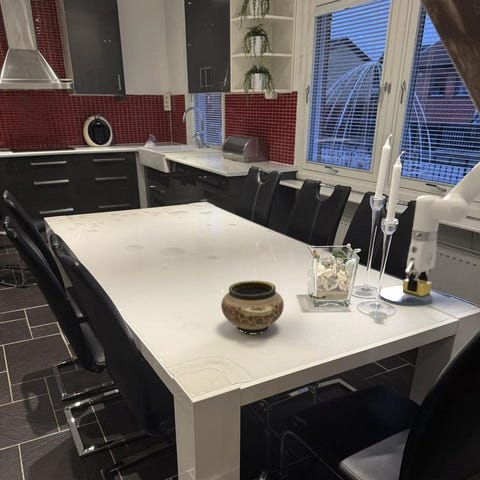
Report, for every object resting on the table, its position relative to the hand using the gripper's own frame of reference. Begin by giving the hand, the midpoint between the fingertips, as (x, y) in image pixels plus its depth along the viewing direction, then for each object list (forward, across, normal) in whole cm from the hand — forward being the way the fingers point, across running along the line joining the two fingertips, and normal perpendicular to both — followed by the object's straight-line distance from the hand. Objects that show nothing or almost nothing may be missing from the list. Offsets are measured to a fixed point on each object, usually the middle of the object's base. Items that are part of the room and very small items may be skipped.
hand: (416, 288), depth 157 cm
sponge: (+2, 0, 0) cm, 2 cm away
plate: (+4, 0, +4) cm, 6 cm away
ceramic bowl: (+5, -58, +17) cm, 60 cm away
